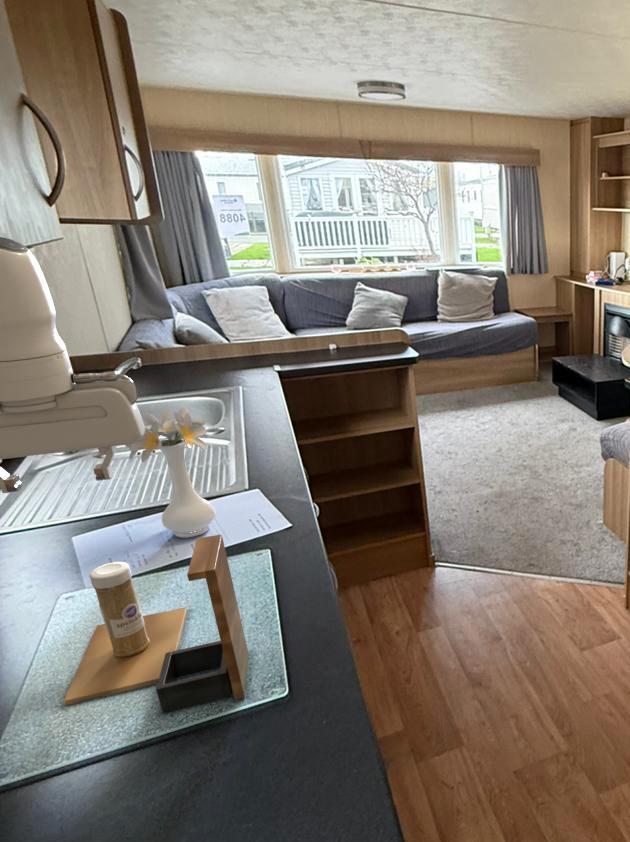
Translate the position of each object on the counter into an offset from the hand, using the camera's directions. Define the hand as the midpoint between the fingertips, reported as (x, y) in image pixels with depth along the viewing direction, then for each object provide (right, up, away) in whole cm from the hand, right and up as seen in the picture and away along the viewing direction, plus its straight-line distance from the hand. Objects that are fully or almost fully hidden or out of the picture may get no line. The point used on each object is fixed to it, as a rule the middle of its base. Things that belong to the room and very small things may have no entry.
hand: (60, 484), depth 82 cm
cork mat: (-1, -26, +14) cm, 29 cm away
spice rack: (+13, -28, +8) cm, 32 cm away
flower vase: (-15, -12, +50) cm, 54 cm away
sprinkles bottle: (-1, -25, +14) cm, 29 cm away
